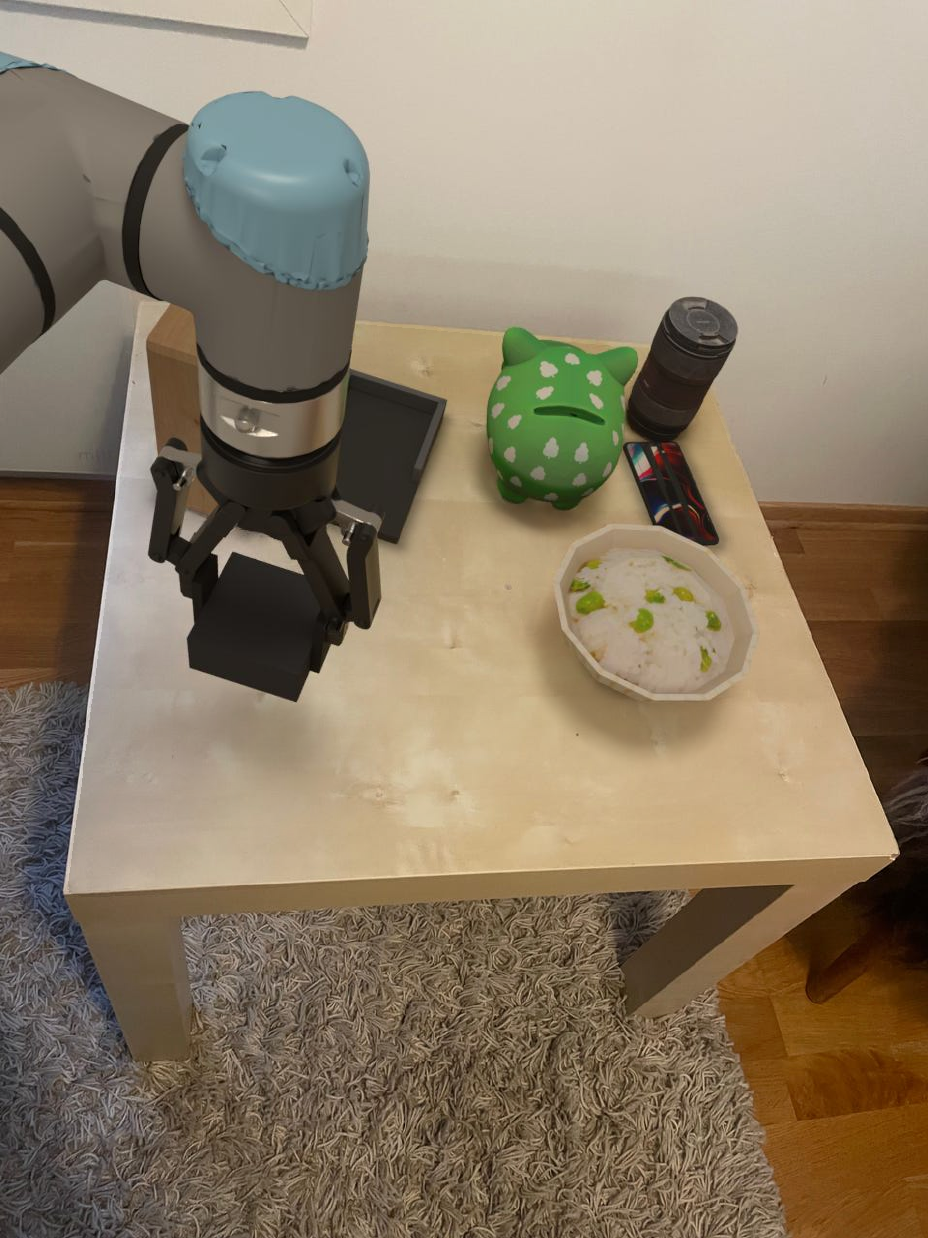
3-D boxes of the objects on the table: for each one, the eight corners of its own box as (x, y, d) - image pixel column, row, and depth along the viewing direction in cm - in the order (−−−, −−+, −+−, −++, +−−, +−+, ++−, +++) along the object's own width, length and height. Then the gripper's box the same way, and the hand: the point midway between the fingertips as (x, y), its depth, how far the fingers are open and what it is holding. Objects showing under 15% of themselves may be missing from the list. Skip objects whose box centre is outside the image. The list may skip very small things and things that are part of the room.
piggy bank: (593, 418, 107) (638, 313, 95) (603, 541, 97) (655, 441, 85) (472, 398, 105) (503, 288, 93) (470, 522, 95) (504, 416, 83)
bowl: (496, 596, 90) (521, 533, 82) (662, 561, 97) (701, 500, 89) (577, 773, 82) (614, 721, 73) (753, 721, 88) (805, 668, 80)
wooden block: (158, 503, 89) (139, 337, 72) (200, 433, 94) (191, 265, 78) (258, 534, 89) (262, 377, 73) (294, 463, 95) (304, 302, 78)
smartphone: (662, 546, 98) (621, 441, 106) (660, 550, 99) (619, 445, 106) (722, 543, 100) (678, 440, 108) (720, 547, 101) (676, 444, 108)
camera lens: (609, 400, 110) (655, 295, 97) (668, 395, 112) (720, 292, 100) (636, 451, 106) (687, 348, 93) (696, 444, 108) (754, 343, 96)
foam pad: (189, 668, 66) (186, 638, 62) (232, 582, 70) (232, 550, 67) (296, 703, 66) (299, 675, 63) (333, 615, 70) (337, 585, 67)
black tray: (396, 544, 92) (401, 525, 89) (286, 509, 91) (287, 489, 89) (442, 419, 102) (447, 399, 100) (343, 387, 102) (346, 366, 100)
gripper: (49, 396, 47) (103, 635, 65) (440, 525, 47) (384, 726, 66) (117, 309, 51) (150, 556, 70) (474, 428, 52) (412, 642, 70)
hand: (263, 638), depth 68 cm, fingers closed on foam pad, 8 cm apart
